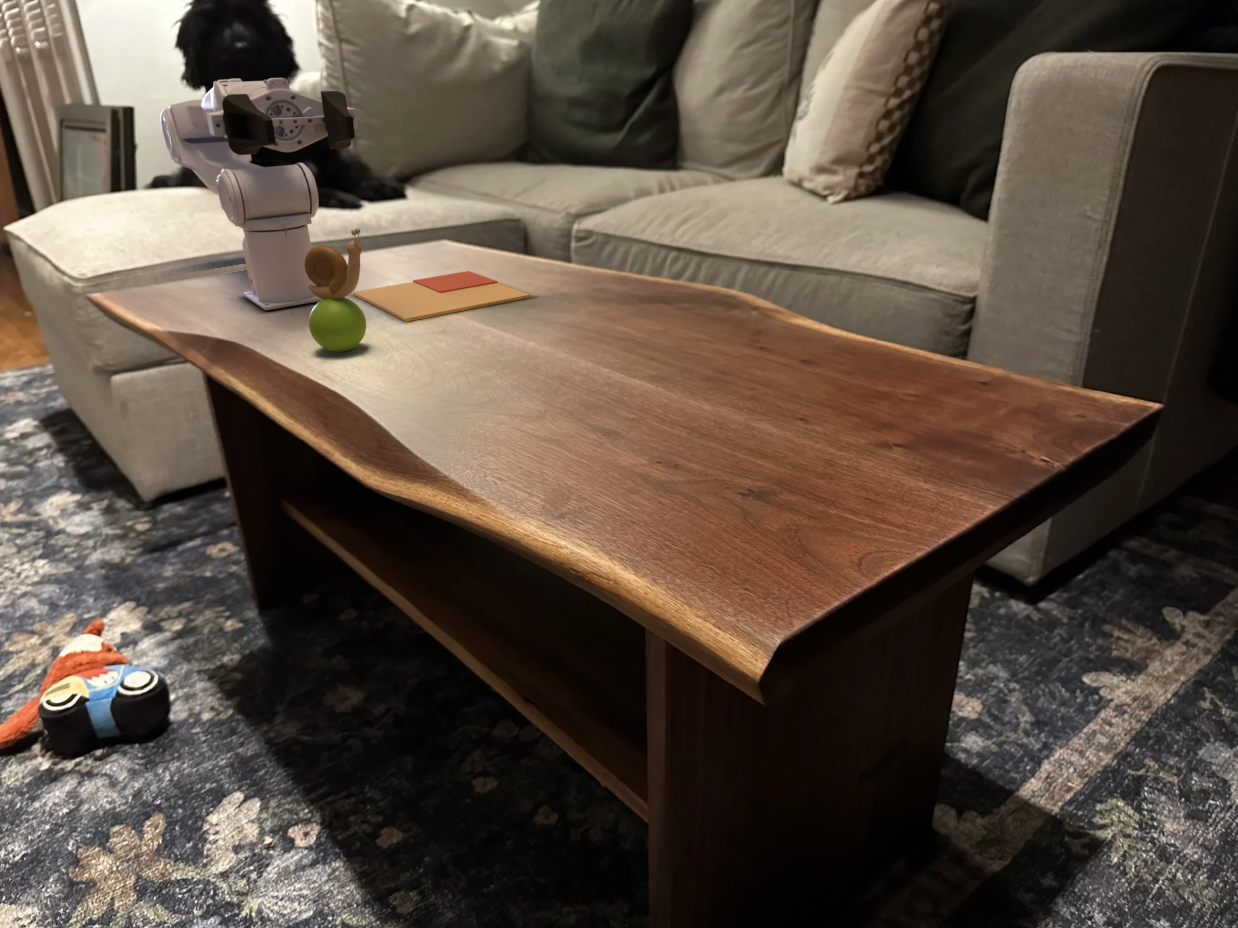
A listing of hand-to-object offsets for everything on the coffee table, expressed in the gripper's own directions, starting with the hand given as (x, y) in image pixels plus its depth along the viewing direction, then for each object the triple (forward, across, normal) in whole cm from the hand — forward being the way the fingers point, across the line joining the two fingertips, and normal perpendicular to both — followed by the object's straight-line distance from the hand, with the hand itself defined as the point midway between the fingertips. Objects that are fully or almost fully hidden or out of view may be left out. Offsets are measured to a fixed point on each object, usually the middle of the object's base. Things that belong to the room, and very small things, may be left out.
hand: (311, 129), depth 84 cm
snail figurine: (+6, -2, +20) cm, 21 cm away
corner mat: (-8, +15, +21) cm, 27 cm away
